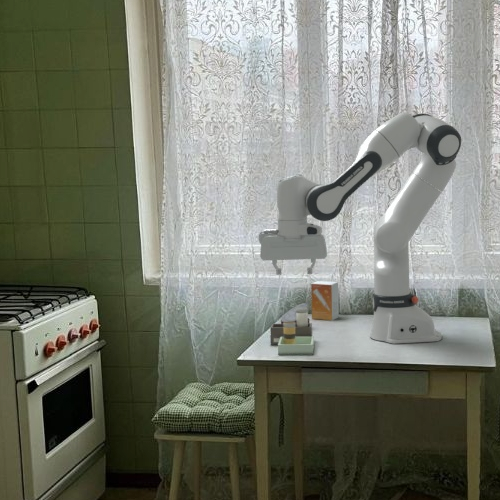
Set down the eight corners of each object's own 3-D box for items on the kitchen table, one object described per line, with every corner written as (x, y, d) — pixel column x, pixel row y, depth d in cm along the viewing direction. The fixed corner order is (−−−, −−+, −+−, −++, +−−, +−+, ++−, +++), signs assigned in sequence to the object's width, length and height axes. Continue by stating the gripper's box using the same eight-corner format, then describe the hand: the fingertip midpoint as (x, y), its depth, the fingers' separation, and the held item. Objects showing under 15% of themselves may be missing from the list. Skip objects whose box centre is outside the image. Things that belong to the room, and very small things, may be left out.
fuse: (308, 331, 265) (307, 307, 264) (308, 334, 262) (307, 309, 261) (297, 331, 266) (296, 307, 265) (296, 334, 262) (295, 309, 261)
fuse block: (312, 340, 267) (312, 323, 266) (311, 344, 261) (311, 327, 260) (272, 340, 268) (271, 323, 268) (270, 344, 262) (270, 327, 262)
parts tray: (314, 345, 259) (313, 336, 259) (312, 354, 249) (312, 344, 248) (280, 346, 260) (280, 336, 260) (278, 354, 250) (277, 344, 250)
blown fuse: (295, 349, 253) (295, 323, 252) (283, 349, 253) (283, 323, 252) (295, 346, 256) (295, 321, 255) (283, 346, 256) (283, 321, 256)
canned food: (306, 343, 282) (306, 321, 276) (278, 339, 285) (277, 317, 279) (313, 322, 291) (313, 299, 285) (285, 318, 293) (284, 296, 288)
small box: (311, 319, 298) (310, 283, 296) (318, 315, 304) (317, 280, 302) (332, 320, 294) (331, 284, 293) (339, 317, 300) (338, 281, 298)
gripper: (257, 231, 249) (259, 276, 251) (326, 228, 247) (327, 274, 249) (259, 228, 255) (261, 273, 257) (326, 226, 253) (327, 271, 255)
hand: (294, 274), depth 253 cm, fingers open, 8 cm apart
